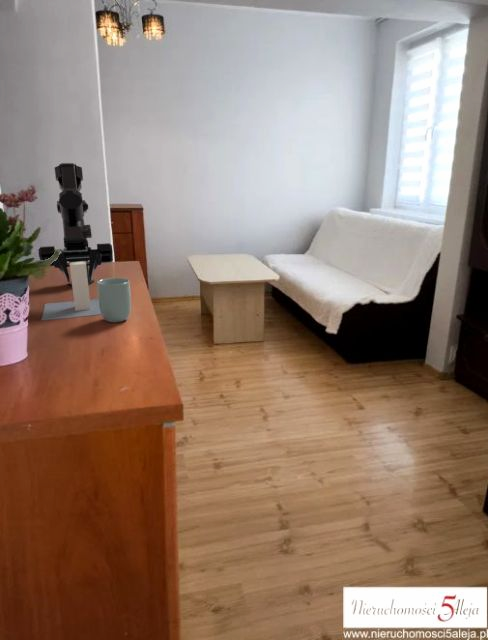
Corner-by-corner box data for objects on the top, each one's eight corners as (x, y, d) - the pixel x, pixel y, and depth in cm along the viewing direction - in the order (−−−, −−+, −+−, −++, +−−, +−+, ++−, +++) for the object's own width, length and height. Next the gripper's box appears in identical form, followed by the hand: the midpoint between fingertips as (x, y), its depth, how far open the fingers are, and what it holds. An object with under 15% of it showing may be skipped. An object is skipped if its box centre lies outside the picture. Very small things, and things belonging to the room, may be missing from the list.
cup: (102, 326, 110) (97, 286, 107) (99, 317, 117) (95, 279, 114) (134, 322, 113) (131, 283, 110) (129, 314, 120) (126, 276, 117)
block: (75, 306, 126) (69, 262, 122) (90, 305, 127) (85, 261, 124) (75, 310, 123) (69, 264, 119) (90, 309, 124) (85, 263, 120)
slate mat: (45, 304, 129) (45, 303, 129) (118, 298, 135) (118, 297, 135) (41, 321, 115) (41, 320, 115) (123, 313, 121) (123, 312, 121)
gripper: (33, 215, 118) (36, 265, 112) (108, 213, 124) (115, 260, 117) (40, 242, 128) (43, 289, 121) (109, 238, 133) (115, 283, 127)
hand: (79, 280), depth 121 cm, fingers open, 5 cm apart
